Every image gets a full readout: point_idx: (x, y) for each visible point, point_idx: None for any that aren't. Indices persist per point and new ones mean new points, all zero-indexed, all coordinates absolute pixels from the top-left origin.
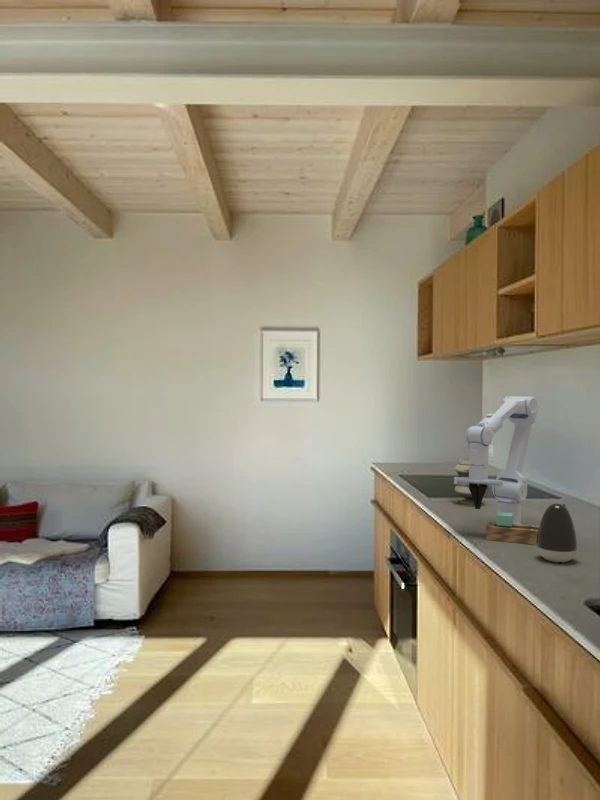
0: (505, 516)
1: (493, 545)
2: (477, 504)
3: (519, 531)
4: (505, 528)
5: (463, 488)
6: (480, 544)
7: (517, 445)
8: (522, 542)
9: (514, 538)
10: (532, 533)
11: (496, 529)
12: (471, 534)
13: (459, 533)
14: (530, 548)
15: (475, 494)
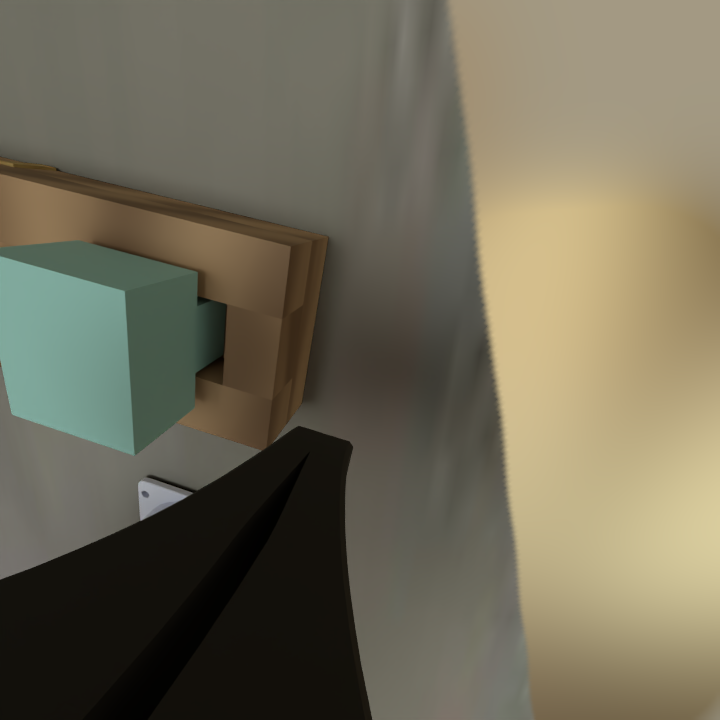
0: (41, 264)
1: (280, 37)
2: (299, 461)
3: (42, 182)
4: (130, 205)
5: None
6: (384, 39)
7: None
8: (96, 182)
9: (125, 190)
10: None
11: (212, 225)
12: (414, 385)
13: (498, 403)
14: (36, 27)
15: (247, 631)
